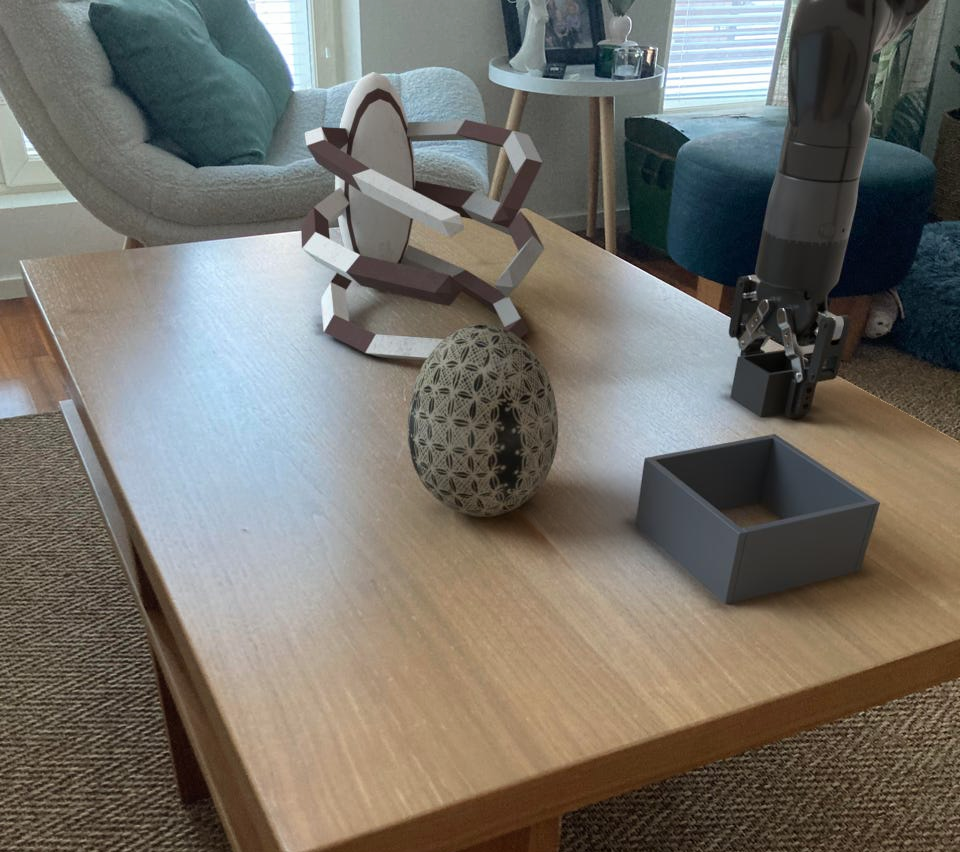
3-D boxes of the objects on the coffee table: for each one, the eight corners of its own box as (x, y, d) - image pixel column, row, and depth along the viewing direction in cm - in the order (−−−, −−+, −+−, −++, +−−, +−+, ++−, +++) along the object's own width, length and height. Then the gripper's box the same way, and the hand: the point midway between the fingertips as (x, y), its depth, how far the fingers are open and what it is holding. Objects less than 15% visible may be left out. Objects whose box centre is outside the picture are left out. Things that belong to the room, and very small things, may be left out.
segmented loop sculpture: (461, 264, 136) (589, 377, 112) (263, 288, 127) (356, 416, 103) (468, 57, 121) (619, 137, 97) (242, 67, 111) (348, 159, 88)
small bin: (777, 396, 105) (787, 349, 102) (808, 415, 101) (820, 366, 98) (728, 404, 103) (737, 356, 100) (758, 424, 99) (769, 375, 96)
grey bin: (759, 505, 86) (774, 433, 82) (858, 579, 77) (880, 502, 73) (634, 532, 82) (644, 457, 78) (723, 613, 73) (739, 533, 69)
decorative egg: (438, 556, 78) (439, 366, 69) (389, 487, 87) (384, 310, 78) (576, 530, 82) (594, 346, 73) (516, 467, 90) (525, 295, 81)
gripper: (895, 245, 88) (848, 424, 98) (790, 204, 98) (757, 370, 108) (825, 253, 85) (784, 436, 95) (725, 210, 96) (697, 379, 105)
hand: (770, 400), depth 102 cm, fingers open, 7 cm apart
